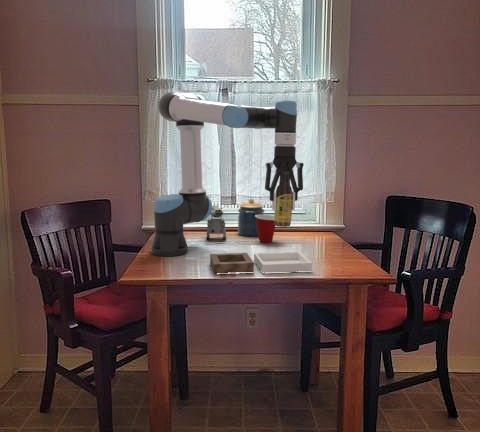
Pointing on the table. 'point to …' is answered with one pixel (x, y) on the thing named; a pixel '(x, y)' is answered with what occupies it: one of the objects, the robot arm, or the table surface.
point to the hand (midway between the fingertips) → (283, 209)
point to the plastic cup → (265, 228)
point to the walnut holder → (231, 263)
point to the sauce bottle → (283, 201)
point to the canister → (249, 218)
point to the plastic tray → (282, 262)
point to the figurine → (216, 223)
